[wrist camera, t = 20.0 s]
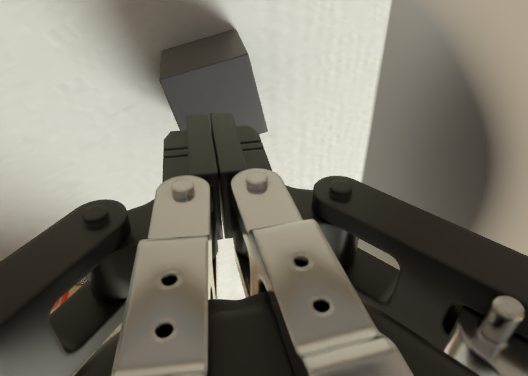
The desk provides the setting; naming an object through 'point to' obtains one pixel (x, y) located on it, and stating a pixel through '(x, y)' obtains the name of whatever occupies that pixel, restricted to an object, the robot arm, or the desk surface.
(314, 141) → the desk surface
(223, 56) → the block charcoal
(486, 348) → the robot arm
